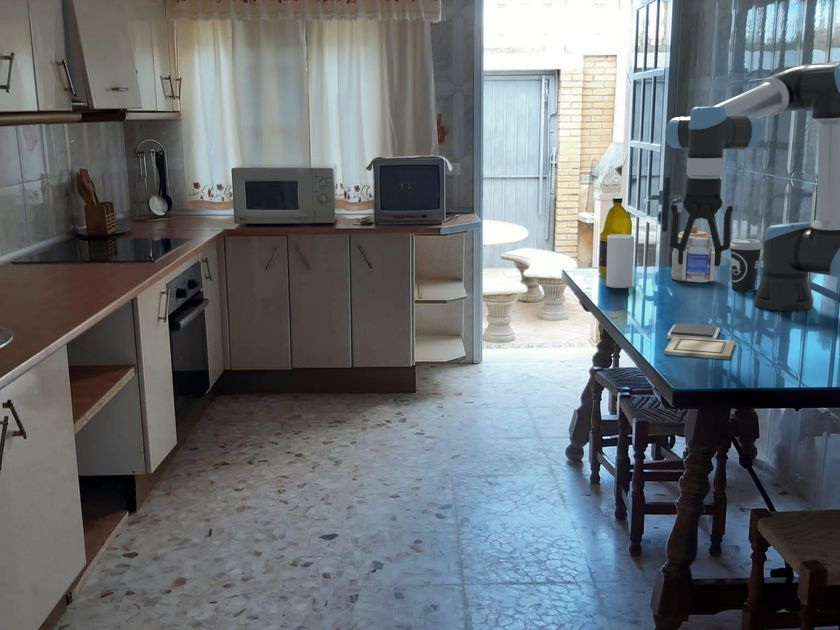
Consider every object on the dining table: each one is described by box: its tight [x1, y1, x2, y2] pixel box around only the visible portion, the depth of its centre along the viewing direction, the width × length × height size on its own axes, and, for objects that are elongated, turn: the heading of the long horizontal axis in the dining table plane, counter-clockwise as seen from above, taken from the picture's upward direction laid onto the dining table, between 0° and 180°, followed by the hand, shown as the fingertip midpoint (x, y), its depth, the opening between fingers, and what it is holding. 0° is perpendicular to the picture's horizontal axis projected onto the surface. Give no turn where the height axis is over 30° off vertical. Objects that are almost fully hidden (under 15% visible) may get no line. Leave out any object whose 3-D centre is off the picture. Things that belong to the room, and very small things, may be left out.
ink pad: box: [666, 322, 721, 340], centre depth 210 cm, size 11×11×2 cm
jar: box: [671, 225, 714, 283], centre depth 281 cm, size 13×13×18 cm
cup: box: [605, 233, 635, 289], centre depth 273 cm, size 8×8×16 cm
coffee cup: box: [729, 238, 763, 292], centre depth 262 cm, size 10×10×15 cm
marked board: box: [663, 337, 736, 360], centre depth 198 cm, size 14×14×1 cm
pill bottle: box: [686, 237, 713, 283], centre depth 196 cm, size 5×5×10 cm
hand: (698, 279), depth 197 cm, fingers closed on pill bottle, 5 cm apart
